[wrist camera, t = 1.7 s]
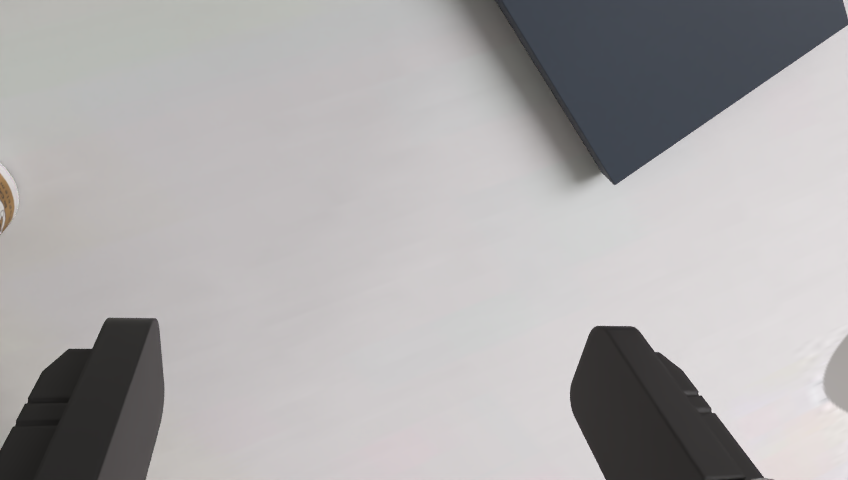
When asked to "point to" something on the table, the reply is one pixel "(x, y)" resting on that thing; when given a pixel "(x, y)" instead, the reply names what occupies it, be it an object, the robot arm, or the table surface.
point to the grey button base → (660, 63)
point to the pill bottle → (7, 198)
